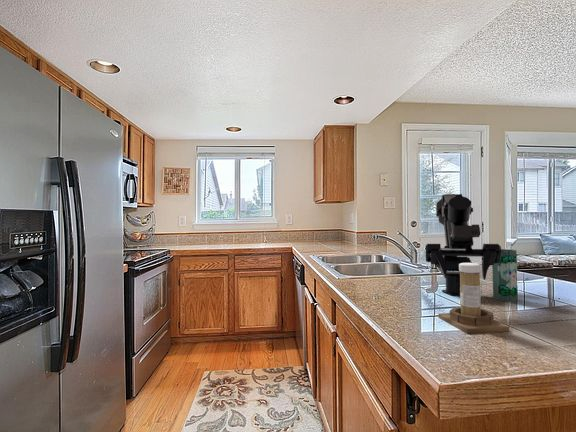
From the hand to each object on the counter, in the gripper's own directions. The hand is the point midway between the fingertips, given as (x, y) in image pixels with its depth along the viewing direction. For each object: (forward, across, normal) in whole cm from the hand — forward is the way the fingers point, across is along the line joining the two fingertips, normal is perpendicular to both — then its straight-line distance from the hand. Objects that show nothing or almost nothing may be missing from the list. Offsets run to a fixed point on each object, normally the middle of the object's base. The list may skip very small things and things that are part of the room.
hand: (464, 278), depth 89 cm
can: (-7, +13, +21) cm, 26 cm away
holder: (+13, 0, 0) cm, 13 cm away
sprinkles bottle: (+12, 0, 0) cm, 12 cm away
